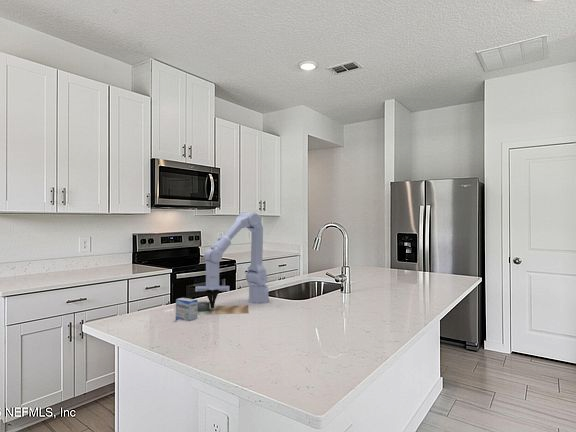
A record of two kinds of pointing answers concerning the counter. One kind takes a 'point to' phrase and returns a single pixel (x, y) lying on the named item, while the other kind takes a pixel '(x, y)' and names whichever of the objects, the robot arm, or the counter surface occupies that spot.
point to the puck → (203, 306)
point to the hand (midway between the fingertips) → (212, 307)
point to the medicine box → (186, 309)
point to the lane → (226, 310)
